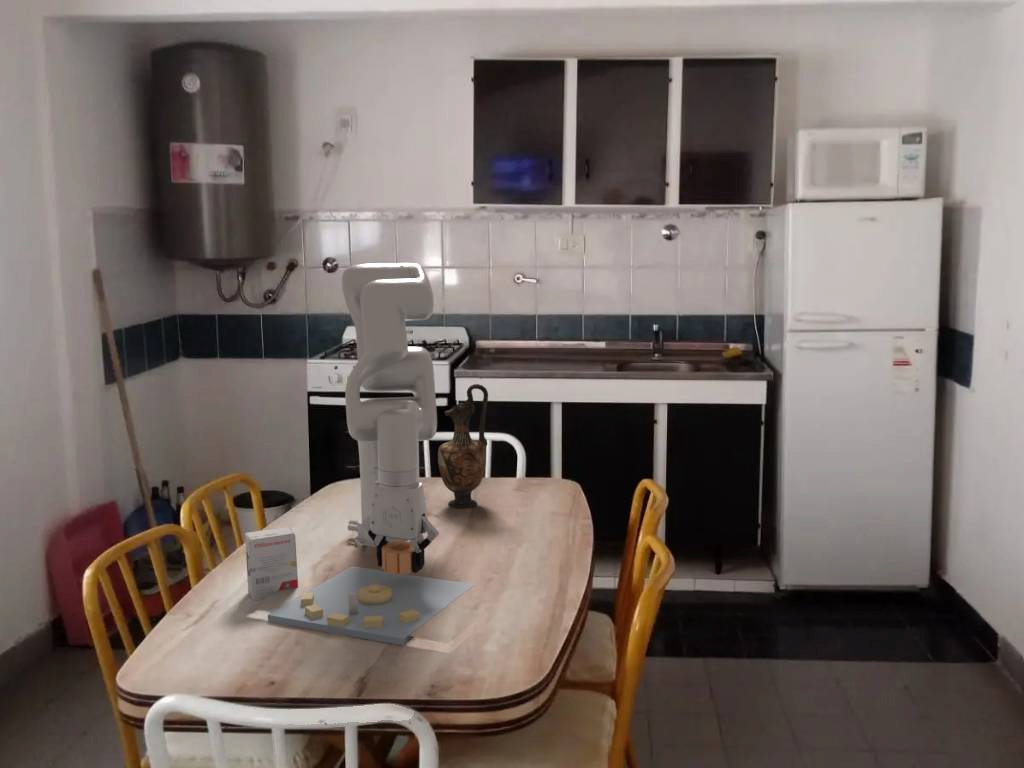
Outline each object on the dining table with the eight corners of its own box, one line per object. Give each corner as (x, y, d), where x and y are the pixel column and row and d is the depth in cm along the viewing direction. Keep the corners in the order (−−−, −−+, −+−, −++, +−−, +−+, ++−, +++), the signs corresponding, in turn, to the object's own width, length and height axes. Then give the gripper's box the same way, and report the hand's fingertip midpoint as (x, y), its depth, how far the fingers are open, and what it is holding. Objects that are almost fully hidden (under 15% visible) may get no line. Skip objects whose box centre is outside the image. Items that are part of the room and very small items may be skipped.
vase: (444, 497, 252) (442, 380, 248) (493, 499, 251) (491, 380, 246) (434, 510, 241) (431, 387, 236) (485, 512, 239) (483, 388, 234)
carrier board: (267, 621, 175) (266, 595, 174) (352, 571, 199) (351, 549, 198) (403, 645, 164) (402, 618, 163) (474, 590, 188) (474, 566, 188)
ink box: (292, 585, 192) (290, 525, 190) (299, 593, 188) (296, 532, 186) (246, 592, 188) (243, 532, 186) (252, 601, 184) (249, 539, 182)
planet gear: (376, 571, 187) (375, 550, 186) (394, 558, 193) (393, 539, 192) (407, 576, 185) (407, 556, 184) (424, 564, 191) (424, 544, 190)
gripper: (347, 475, 185) (350, 567, 189) (430, 487, 178) (432, 581, 182) (369, 465, 192) (371, 553, 196) (449, 476, 185) (450, 567, 189)
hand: (400, 566), depth 189 cm, fingers closed on planet gear, 6 cm apart
